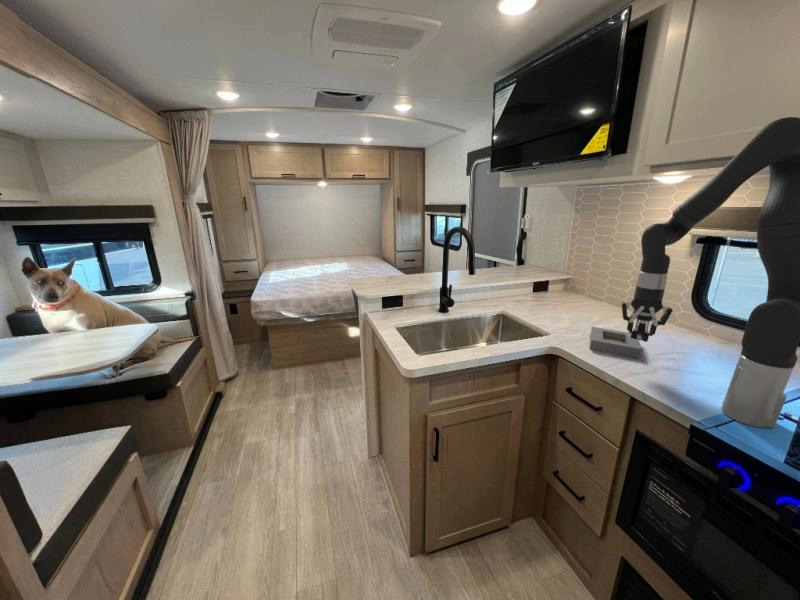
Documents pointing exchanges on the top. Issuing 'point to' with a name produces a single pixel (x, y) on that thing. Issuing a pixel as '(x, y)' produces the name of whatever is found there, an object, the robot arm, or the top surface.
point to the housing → (614, 342)
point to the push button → (641, 327)
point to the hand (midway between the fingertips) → (640, 333)
